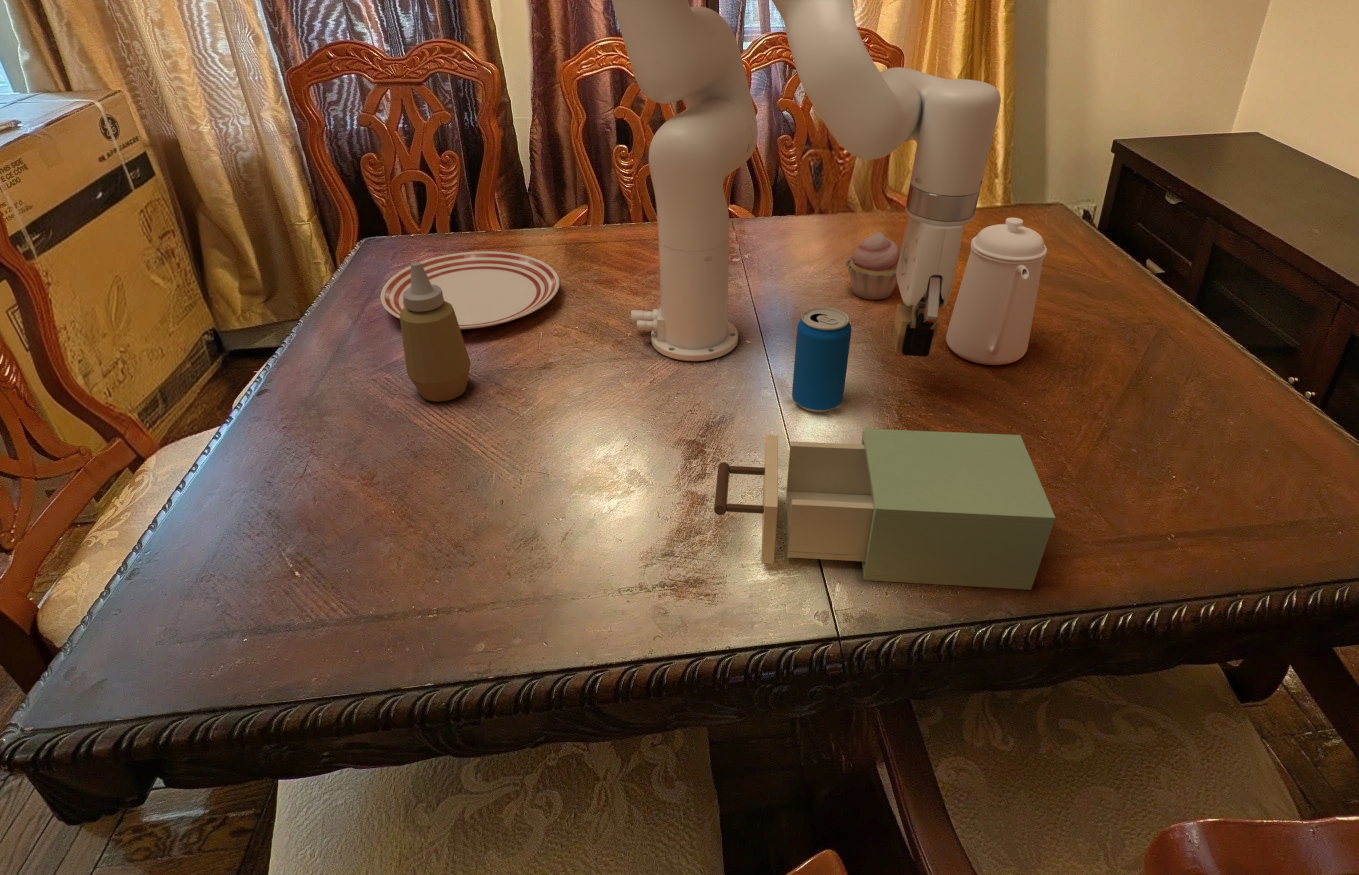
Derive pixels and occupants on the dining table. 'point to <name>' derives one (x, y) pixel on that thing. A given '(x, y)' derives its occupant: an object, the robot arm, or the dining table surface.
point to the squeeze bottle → (432, 340)
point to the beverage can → (821, 359)
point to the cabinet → (954, 509)
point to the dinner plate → (481, 286)
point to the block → (901, 323)
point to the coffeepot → (997, 294)
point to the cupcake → (874, 267)
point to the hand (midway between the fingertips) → (912, 342)
